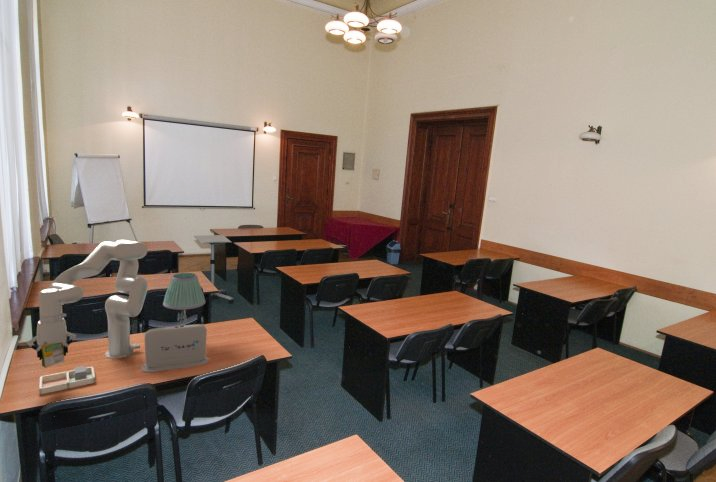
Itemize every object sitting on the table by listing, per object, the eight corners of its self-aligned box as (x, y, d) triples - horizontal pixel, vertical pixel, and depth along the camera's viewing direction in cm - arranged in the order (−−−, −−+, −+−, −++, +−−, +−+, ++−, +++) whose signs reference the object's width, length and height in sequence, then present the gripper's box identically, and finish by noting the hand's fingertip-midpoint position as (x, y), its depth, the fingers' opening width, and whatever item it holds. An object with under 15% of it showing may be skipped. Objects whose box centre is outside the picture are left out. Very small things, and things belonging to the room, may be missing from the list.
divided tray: (93, 372, 185) (93, 366, 184) (95, 384, 176) (95, 377, 175) (40, 383, 173) (39, 376, 172) (39, 396, 164) (39, 389, 163)
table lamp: (163, 338, 226) (163, 271, 219) (204, 335, 234) (205, 270, 228) (161, 355, 206) (161, 282, 200) (205, 351, 215) (206, 280, 208)
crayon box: (61, 359, 173) (60, 334, 171) (64, 361, 172) (63, 336, 170) (41, 365, 167) (40, 340, 165) (44, 368, 166) (43, 342, 164)
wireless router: (140, 374, 187) (140, 334, 184) (141, 364, 196) (140, 326, 192) (210, 364, 202) (210, 327, 198) (207, 355, 210) (208, 320, 207)
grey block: (85, 375, 180) (85, 365, 180) (86, 381, 176) (86, 371, 175) (75, 377, 178) (74, 367, 177) (75, 383, 173) (75, 373, 172)
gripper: (76, 312, 174) (77, 349, 177) (24, 317, 164) (27, 357, 166) (76, 317, 168) (78, 355, 171) (23, 324, 158) (26, 364, 161)
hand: (53, 356), depth 169 cm, fingers closed on crayon box, 7 cm apart
